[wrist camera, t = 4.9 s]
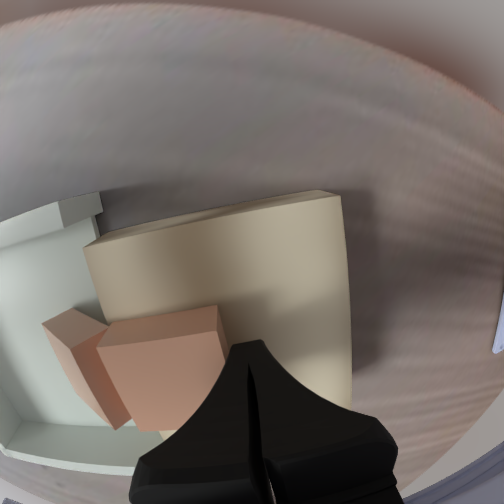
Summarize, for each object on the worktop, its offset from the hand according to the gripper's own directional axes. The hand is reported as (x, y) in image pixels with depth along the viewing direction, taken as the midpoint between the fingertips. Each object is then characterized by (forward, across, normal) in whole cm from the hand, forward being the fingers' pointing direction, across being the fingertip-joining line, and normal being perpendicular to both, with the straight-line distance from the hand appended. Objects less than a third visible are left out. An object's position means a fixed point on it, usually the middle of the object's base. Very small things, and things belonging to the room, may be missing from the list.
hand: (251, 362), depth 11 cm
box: (+4, +13, 0) cm, 13 cm away
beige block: (+4, +1, 0) cm, 4 cm away
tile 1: (+1, +3, 0) cm, 3 cm away
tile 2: (+2, +7, 0) cm, 7 cm away
